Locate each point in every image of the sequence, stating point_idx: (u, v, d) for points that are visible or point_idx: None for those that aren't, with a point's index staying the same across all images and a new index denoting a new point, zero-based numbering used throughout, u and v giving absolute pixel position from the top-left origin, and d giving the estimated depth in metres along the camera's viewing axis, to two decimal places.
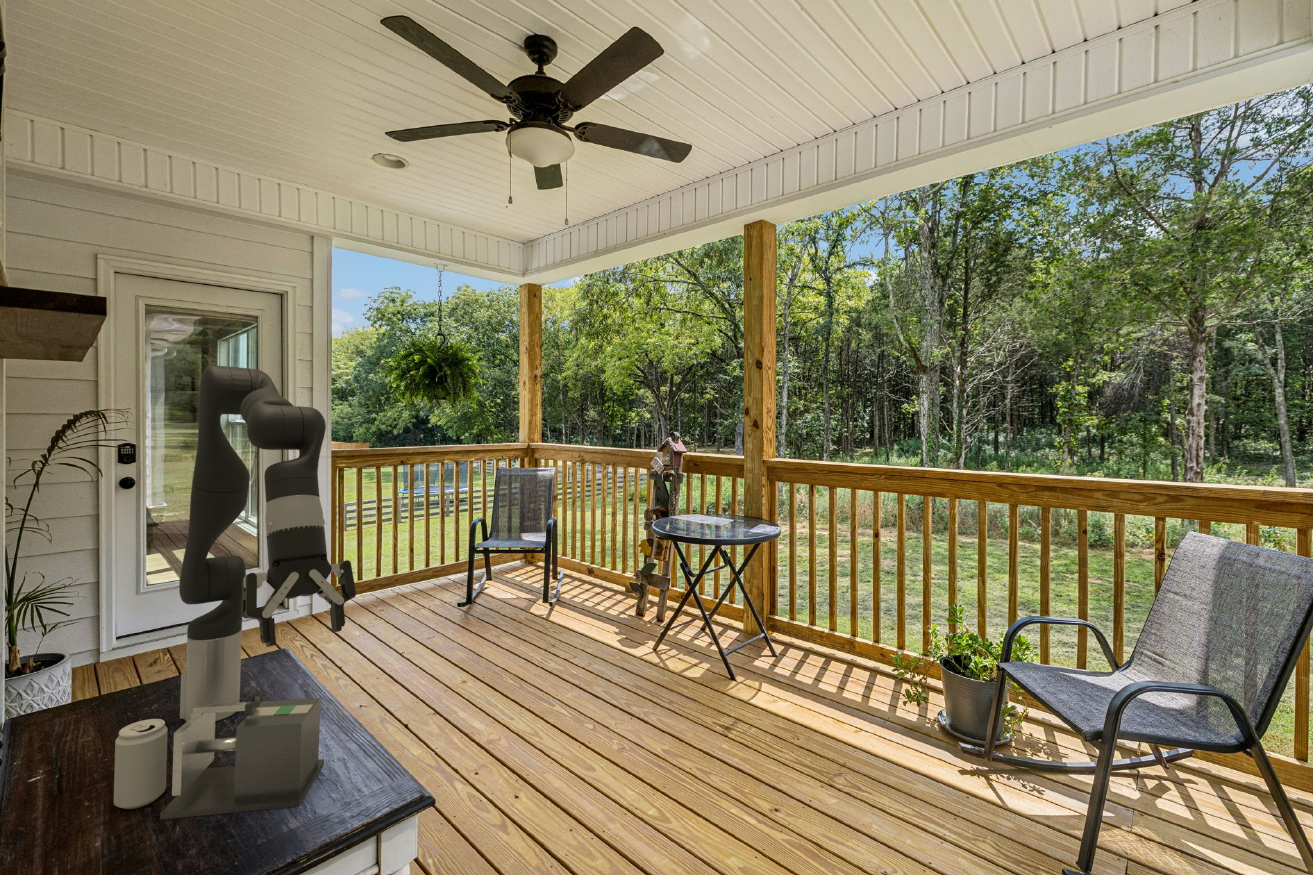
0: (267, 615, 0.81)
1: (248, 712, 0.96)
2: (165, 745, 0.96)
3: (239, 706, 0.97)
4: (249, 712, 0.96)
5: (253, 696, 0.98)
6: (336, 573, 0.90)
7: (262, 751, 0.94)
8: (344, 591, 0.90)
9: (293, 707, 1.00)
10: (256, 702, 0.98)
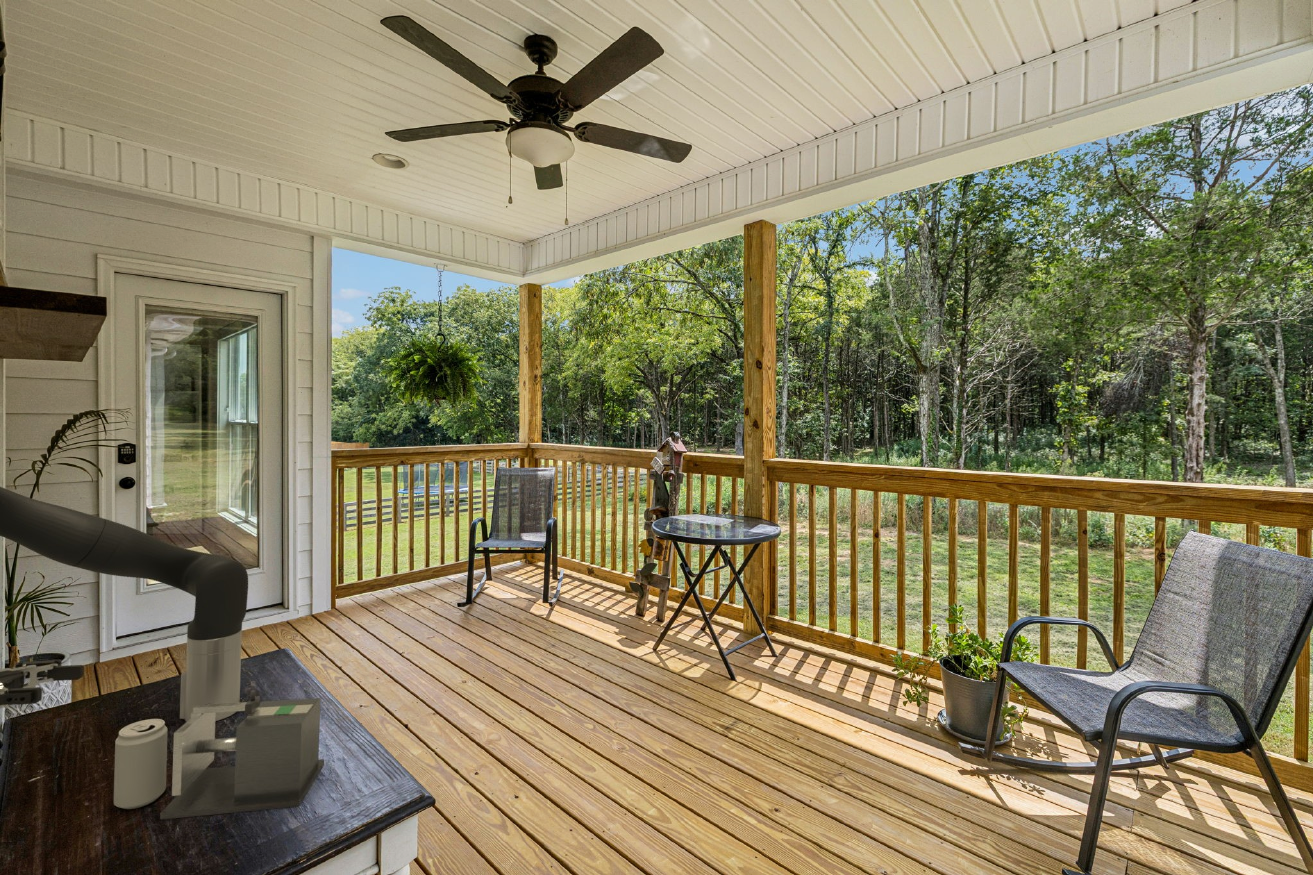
0: None
1: (248, 712, 0.96)
2: (165, 745, 0.96)
3: (239, 706, 0.97)
4: (249, 712, 0.96)
5: (253, 696, 0.98)
6: None
7: (262, 751, 0.94)
8: None
9: (293, 707, 1.00)
10: (256, 702, 0.98)
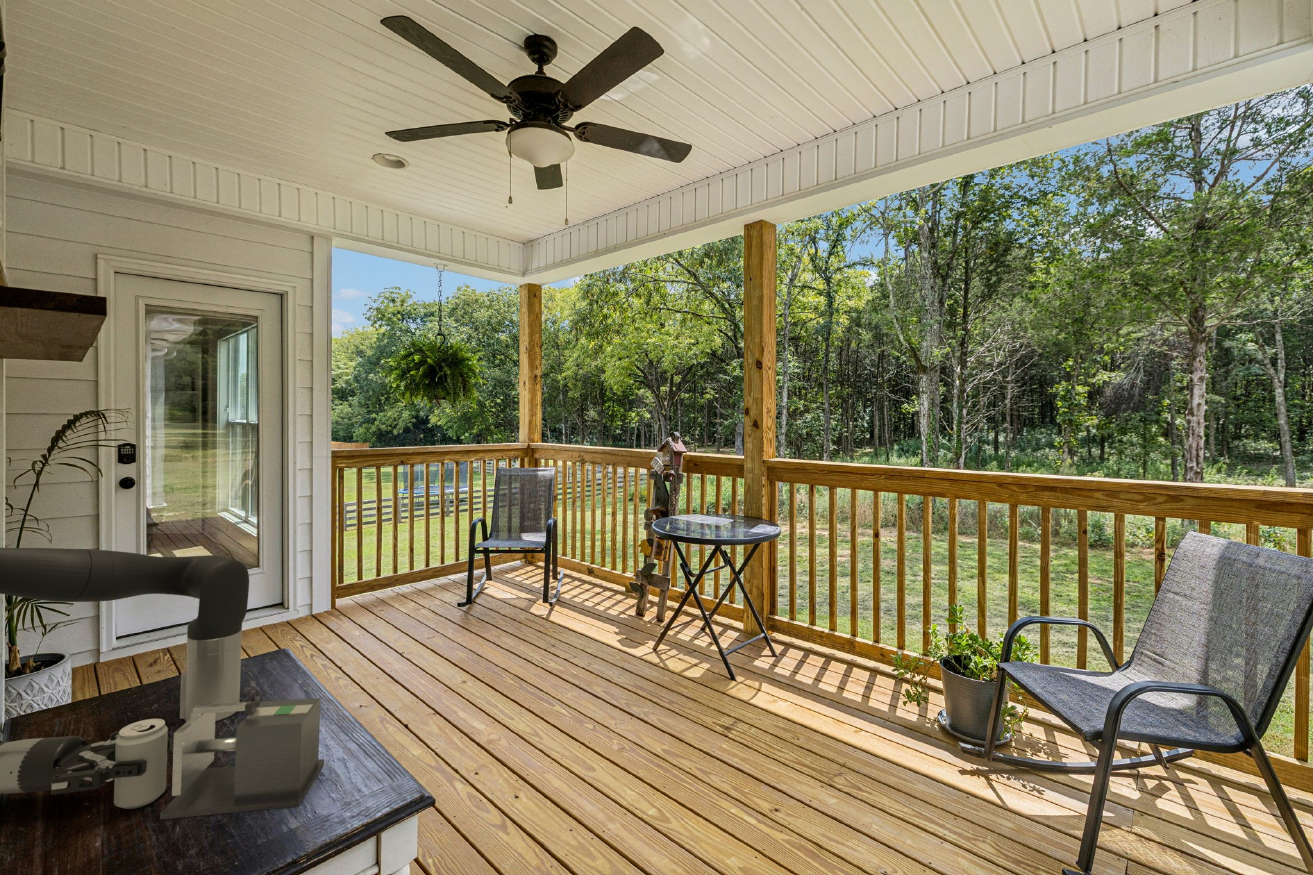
0: None
1: (248, 712, 0.96)
2: (166, 745, 0.96)
3: (239, 706, 0.97)
4: (249, 712, 0.96)
5: (253, 696, 0.98)
6: None
7: (262, 751, 0.94)
8: None
9: (293, 707, 1.00)
10: (256, 702, 0.98)
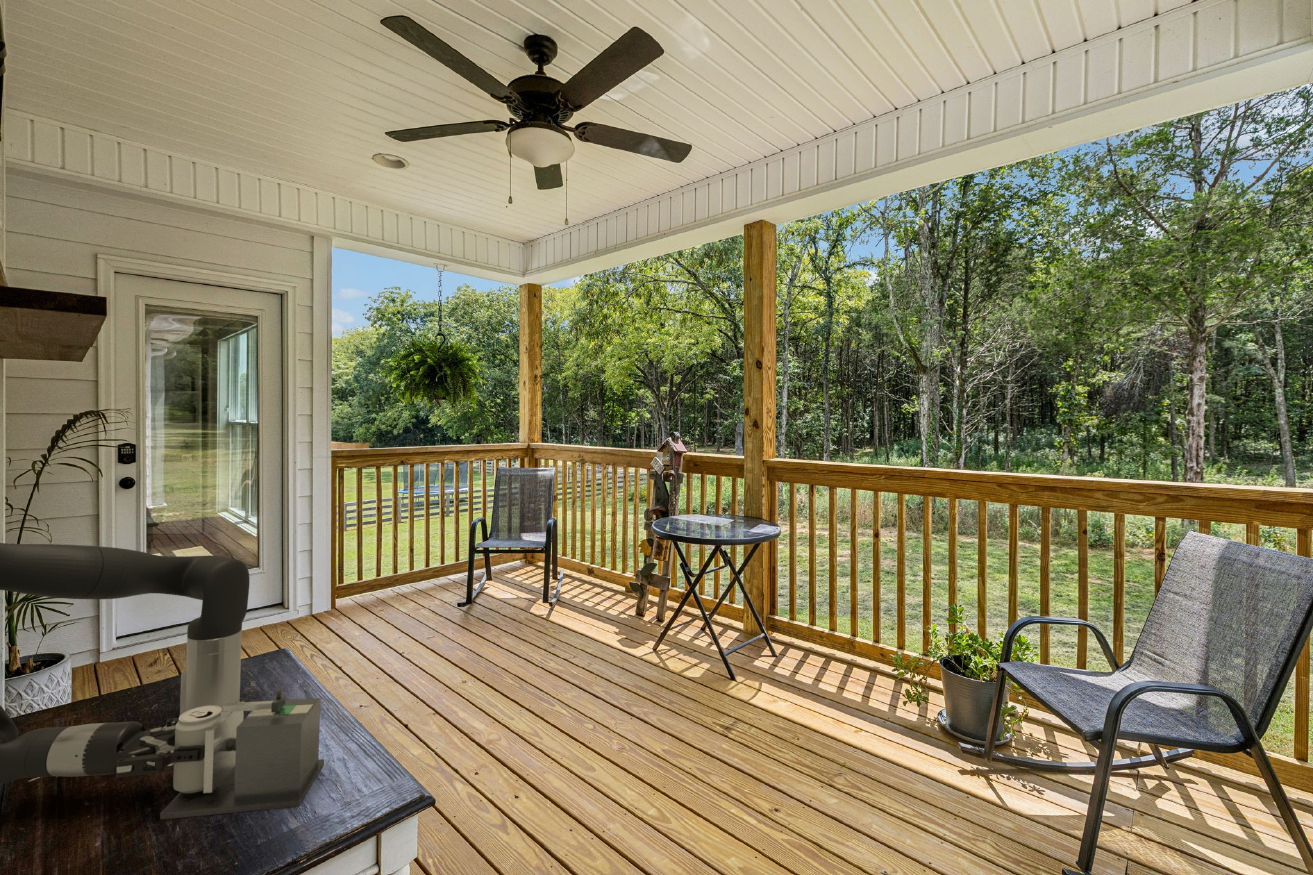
0: None
1: (274, 710, 0.97)
2: None
3: (268, 705, 0.98)
4: (275, 710, 0.97)
5: (279, 695, 0.99)
6: None
7: (262, 751, 0.94)
8: None
9: (293, 707, 1.00)
10: (282, 701, 0.99)
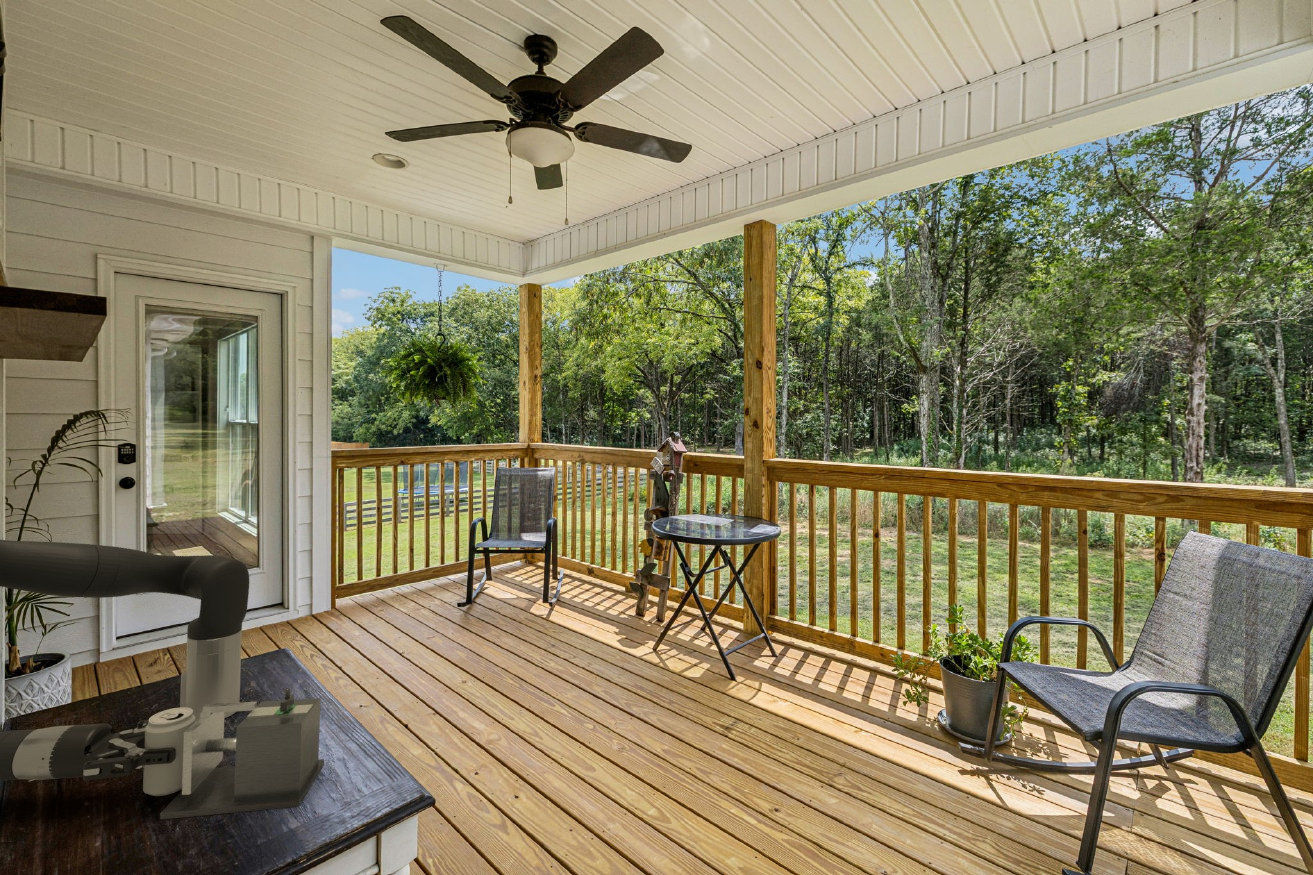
0: None
1: (283, 710, 0.98)
2: None
3: (248, 706, 0.97)
4: (284, 710, 0.98)
5: (288, 694, 0.99)
6: None
7: (262, 751, 0.94)
8: None
9: (293, 707, 1.00)
10: (291, 700, 0.99)
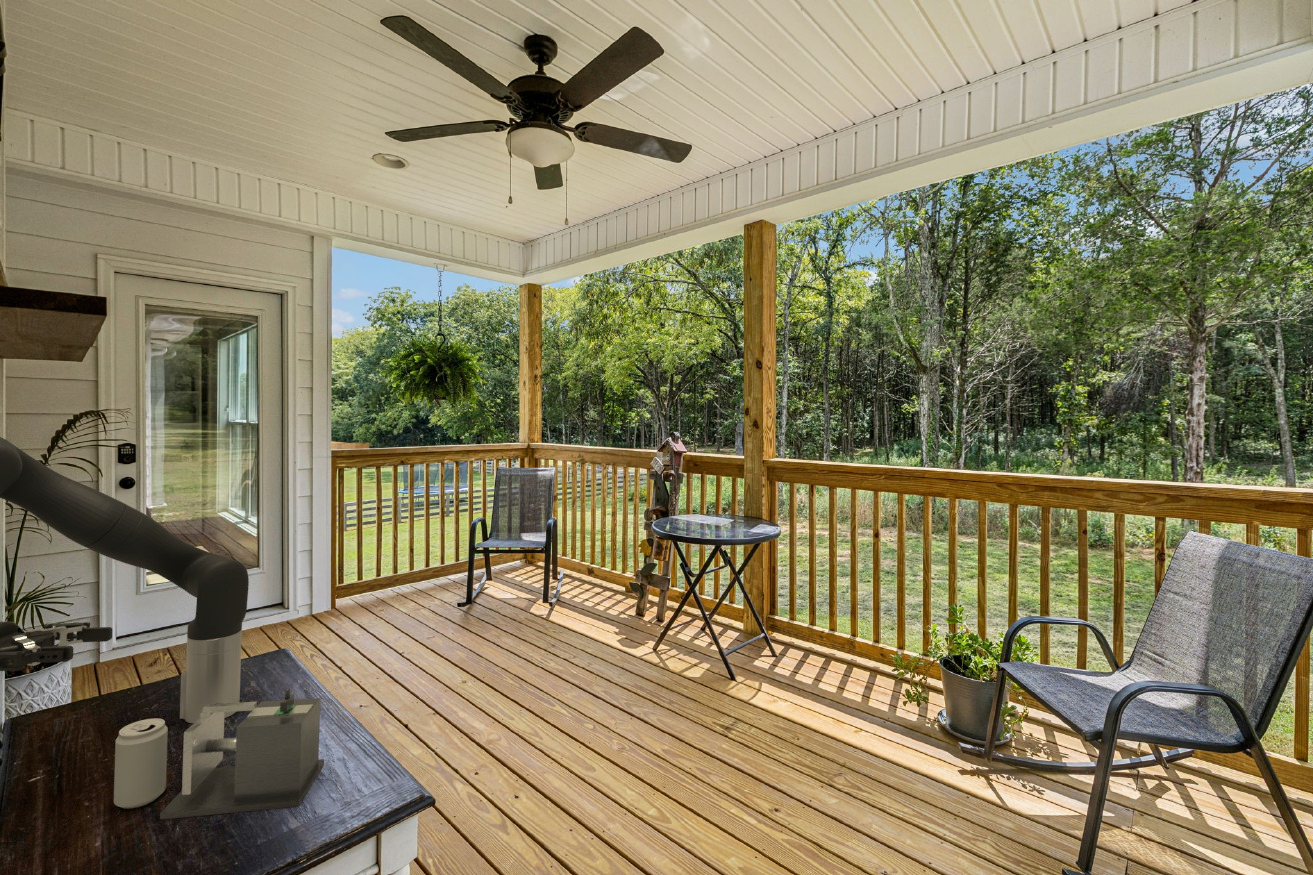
0: (83, 641, 0.96)
1: (283, 710, 0.98)
2: (166, 745, 0.96)
3: (248, 706, 0.97)
4: (284, 710, 0.98)
5: (288, 694, 0.99)
6: None
7: (262, 751, 0.94)
8: None
9: (293, 707, 1.00)
10: (291, 700, 0.99)
